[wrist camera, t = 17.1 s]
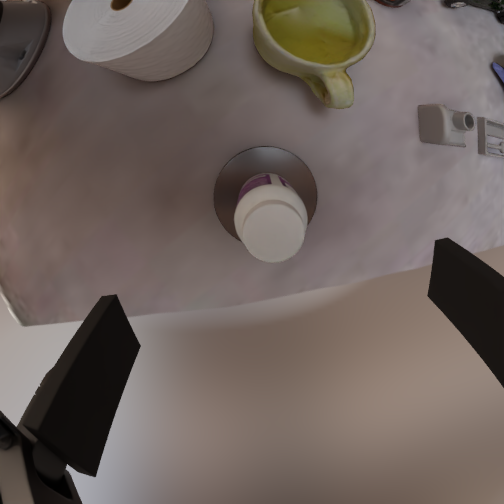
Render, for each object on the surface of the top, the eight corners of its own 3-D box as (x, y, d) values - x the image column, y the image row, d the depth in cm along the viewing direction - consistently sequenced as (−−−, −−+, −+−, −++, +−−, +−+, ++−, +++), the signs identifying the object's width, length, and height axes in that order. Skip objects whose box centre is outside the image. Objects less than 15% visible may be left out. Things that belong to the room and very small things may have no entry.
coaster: (205, 156, 25) (204, 156, 24) (309, 140, 25) (310, 140, 24) (224, 252, 29) (224, 254, 28) (319, 236, 28) (321, 238, 28)
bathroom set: (418, 146, 25) (445, 151, 20) (415, 104, 23) (443, 102, 18) (529, 163, 23) (552, 170, 18) (529, 134, 21) (552, 139, 16)
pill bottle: (237, 224, 27) (228, 270, 18) (240, 170, 25) (231, 190, 16) (292, 228, 27) (309, 275, 18) (298, 174, 25) (321, 197, 16)
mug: (226, -7, 17) (264, -48, 9) (321, 2, 19) (385, -17, 11) (234, 104, 24) (275, 112, 16) (326, 101, 26) (391, 114, 18)
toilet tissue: (118, 94, 22) (60, 83, 13) (116, 5, 18) (70, -27, 8) (219, 70, 22) (198, 36, 13) (210, -21, 17) (191, -72, 8)
